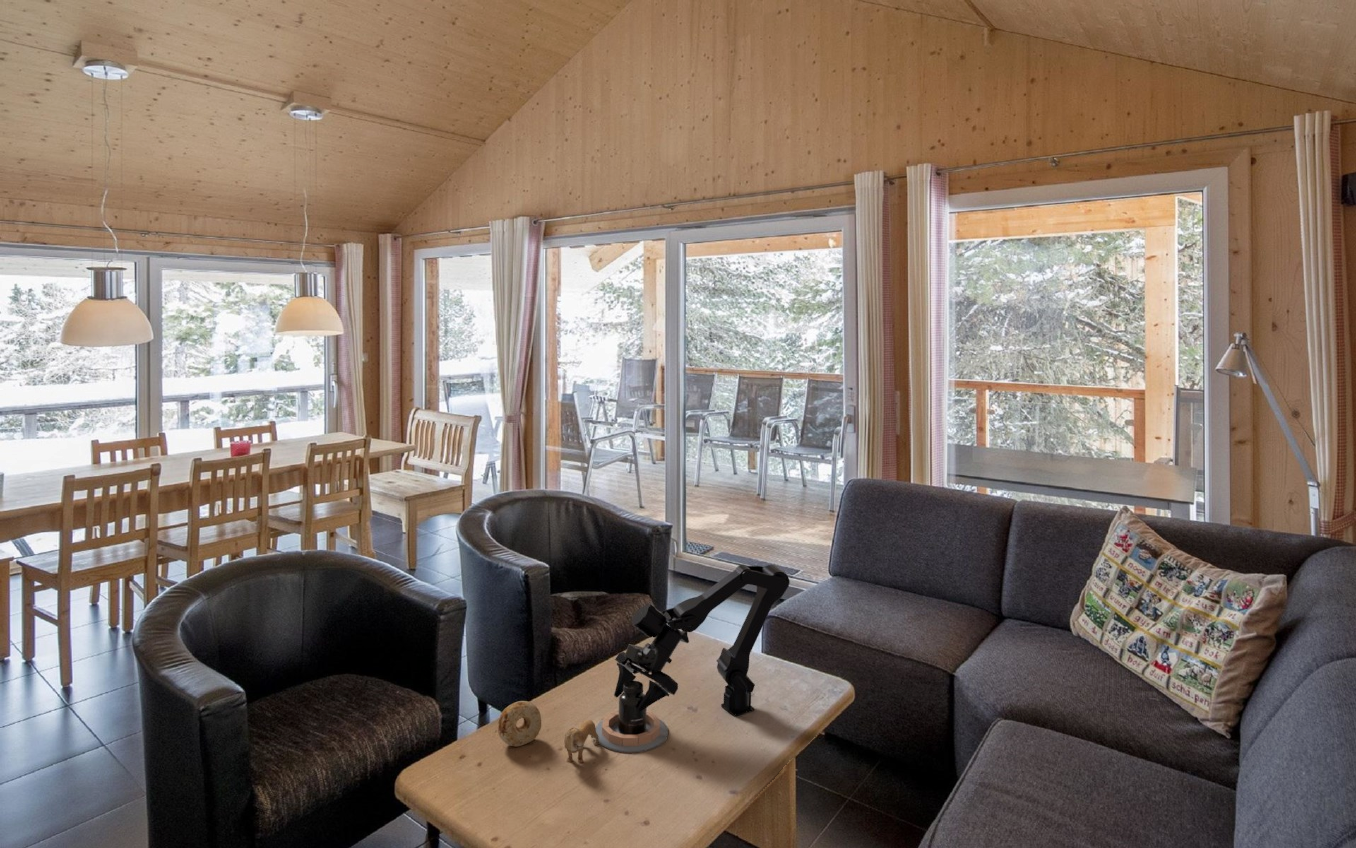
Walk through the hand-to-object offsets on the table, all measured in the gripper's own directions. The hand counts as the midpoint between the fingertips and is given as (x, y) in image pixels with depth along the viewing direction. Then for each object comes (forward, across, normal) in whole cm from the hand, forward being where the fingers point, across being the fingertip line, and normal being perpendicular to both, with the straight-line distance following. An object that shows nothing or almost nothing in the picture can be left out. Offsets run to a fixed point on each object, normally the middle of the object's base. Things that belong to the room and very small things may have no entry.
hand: (626, 703), depth 195 cm
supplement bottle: (+4, 0, +6) cm, 8 cm away
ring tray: (+5, 0, +7) cm, 8 cm away
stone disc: (+21, -13, -9) cm, 27 cm away
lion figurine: (+16, +1, -4) cm, 16 cm away
